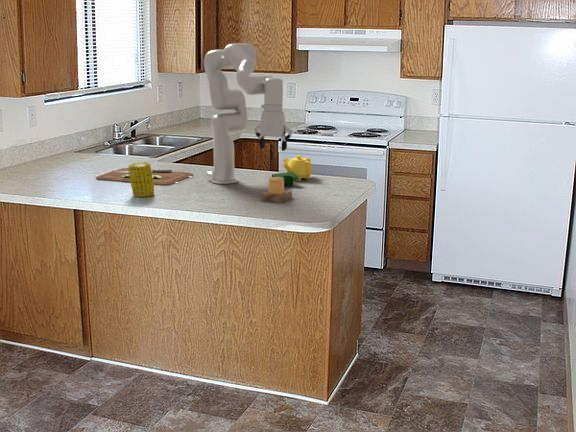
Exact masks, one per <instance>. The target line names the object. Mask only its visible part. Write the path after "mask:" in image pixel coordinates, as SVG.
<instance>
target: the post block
mask: <svg viewBox="0 0 576 432" xmlns="http://www.w3.org/2000/svg"><path fill="white" fill-rule="evenodd" d="M292 198H293V191H292V190H286V189H284V193H282V194H271V193H269V189H268V190H265V191H264V192H262V193H260V202H270V203H277V204H278V203H280V204H284V203H286V202H288V201H289V200H291V199H292Z"/></svg>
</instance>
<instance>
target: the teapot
mask: <svg viewBox="0 0 576 432" xmlns="http://www.w3.org/2000/svg"><path fill="white" fill-rule="evenodd" d="M283 162H284V163H283V164H282V166H283V167H284V168H285V173H286V172H294V173H295V174H296V175H298V180H296V181H297V182H301V181H302V179H304V180H310V176H312V174H313V169H312V164H311V159H310V158H308V157H303V156H302V155H296V157H292V158H291V159H290V160H289V159H288V158H287V157H286V158H284V159H283Z"/></svg>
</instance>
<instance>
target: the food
mask: <svg viewBox="0 0 576 432" xmlns="http://www.w3.org/2000/svg"><path fill="white" fill-rule="evenodd" d="M128 168H129V173H130V181H131V183H130V186H131V189H132V190H131V192H132V195H133V196H134V197H137V198H143V197H144V198H145V197H153V196H155V185H154V183H153V178H152V171H151V170H152V167H151V164H150V163H149V162H146V161H141V162H133V163H131V164H129V165H128Z"/></svg>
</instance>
